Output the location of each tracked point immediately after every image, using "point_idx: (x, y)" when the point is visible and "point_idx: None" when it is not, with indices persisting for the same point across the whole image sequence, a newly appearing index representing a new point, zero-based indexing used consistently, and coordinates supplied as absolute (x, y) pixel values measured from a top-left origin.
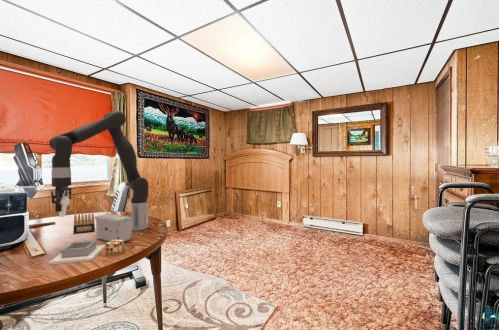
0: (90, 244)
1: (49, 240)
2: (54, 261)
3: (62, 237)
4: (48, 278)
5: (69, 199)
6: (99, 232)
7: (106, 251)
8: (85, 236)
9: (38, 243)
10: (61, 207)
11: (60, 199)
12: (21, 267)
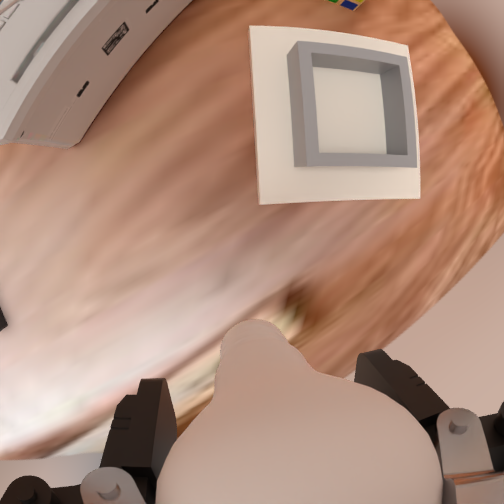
0: (360, 53)
1: (93, 384)
2: (419, 179)
3: (51, 350)
4: (490, 146)
5: (269, 464)
6: (79, 113)
7: (361, 1)
8: (33, 239)
9: None
10: (385, 381)
11: (491, 467)
12: (408, 287)
